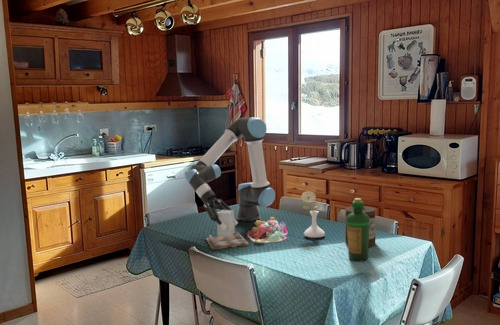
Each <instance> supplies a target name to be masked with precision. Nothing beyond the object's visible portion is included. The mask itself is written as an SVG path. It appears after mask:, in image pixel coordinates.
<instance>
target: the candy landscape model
mask: <svg viewBox="0 0 500 325" xmlns="http://www.w3.org/2000/svg"><path fill="white" fill-rule="evenodd" d="M277 220H278V219H277V218H276V219H275V217H274V216H270V217H269V220H267V221H263V220H256V221H254V224H255V226H253V227H252V228H251V229H250V230H248V231H247V232H246V234H245V236H246V237H247V238H248V239H249V240H250V241H251V242H253V243H256V244H271V243H278V242H282V241H285V240H287V239H288V238H287V236H288V235H289V232H288V229H287V226H286V224H284V222H278V221H277Z"/></svg>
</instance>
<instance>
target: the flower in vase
mask: <svg viewBox="0 0 500 325" xmlns="http://www.w3.org/2000/svg"><path fill="white" fill-rule="evenodd" d="M300 198H301V200H302V201H303V202H304V203H305V202H306V203H311V202H314V201H315V200H316V198H317V196H316V194H315V192H314V191H313V192H312V191H310V190H308V191H304V192H302V194H301V196H300ZM317 208H319V205H316V206H313V207H311V206H310V204H308V205H303V206H302V207H301V209H303V210H309V209H310V211H309V214H310V215H311V225H310V226H309V227H308V228H306V230H304V232H303V235H304V237H307V238H311V239H313V238H314V239H318V238H322V237H325V235H326V233H325V231H324V230H323V229H322V228H321V227H319V225H318V224H317V218H318V214H319V212H320V211H318V210H316V209H317Z"/></svg>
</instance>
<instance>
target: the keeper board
mask: <svg viewBox="0 0 500 325" xmlns="http://www.w3.org/2000/svg"><path fill="white" fill-rule="evenodd" d="M206 240H207V241H206ZM205 241H206V242H208V243H207V244H208V245H210V246H209V248H211V250H213V251H215V250H221V249H222V248H223V249H229V248H228V247H232V248H238V247H237V246H241V247H249V246H250V245H249V242H248V241H247V239H245V238H244V237H243V236H242V235H241V234H240V233H239V231H235V234H233V235H232V236H231V237H226V236H212V234H209V237H206V238H205ZM248 245H249V246H248Z"/></svg>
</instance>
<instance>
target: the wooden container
mask: <svg viewBox="0 0 500 325" xmlns="http://www.w3.org/2000/svg"><path fill="white" fill-rule="evenodd" d="M363 204H364V202H363ZM352 212H354V211H353V207H352V205H350V206H348V207H346V208H345V226H344V227H345V229H344V230H345V235H344V238H345V243H344V244H345V245H347V246H348V235H347V219H346V218H347V216H348V215H349V214H350V213H352ZM362 212H364V213H365V214H367V215H368V217H369V218H370V226H369V244H368V248H372V247H374V246H375V245H376V208H374V207H372V206H368V205H364V207H363V211H362Z"/></svg>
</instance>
